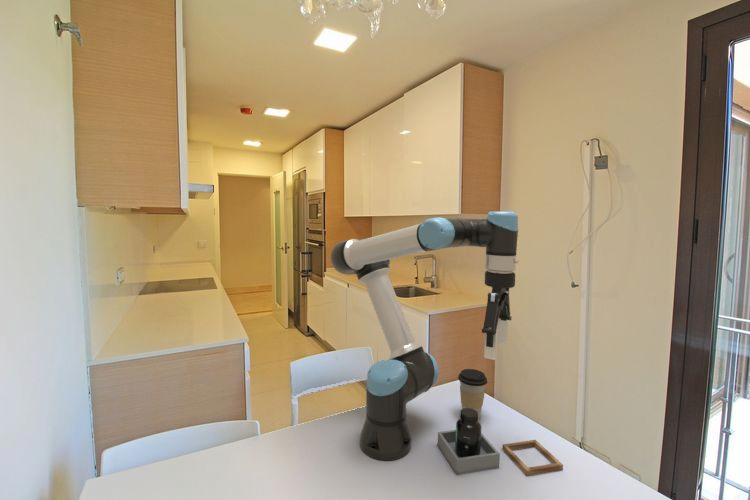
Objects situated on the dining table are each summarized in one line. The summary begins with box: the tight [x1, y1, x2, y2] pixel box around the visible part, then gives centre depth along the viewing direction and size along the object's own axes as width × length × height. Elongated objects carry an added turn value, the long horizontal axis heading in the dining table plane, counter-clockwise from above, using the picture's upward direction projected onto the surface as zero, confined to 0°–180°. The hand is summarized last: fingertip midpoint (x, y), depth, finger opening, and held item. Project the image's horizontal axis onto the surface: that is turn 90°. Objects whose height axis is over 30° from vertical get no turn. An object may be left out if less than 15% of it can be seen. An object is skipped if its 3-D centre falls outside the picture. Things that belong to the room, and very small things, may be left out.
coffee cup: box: [457, 368, 488, 421], centre depth 119 cm, size 9×9×15 cm
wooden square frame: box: [501, 439, 564, 477], centre depth 99 cm, size 11×11×2 cm
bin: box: [437, 429, 501, 476], centre depth 99 cm, size 12×12×4 cm
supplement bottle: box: [455, 408, 482, 458], centre depth 99 cm, size 7×7×12 cm
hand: (496, 350), depth 94 cm, fingers open, 13 cm apart
